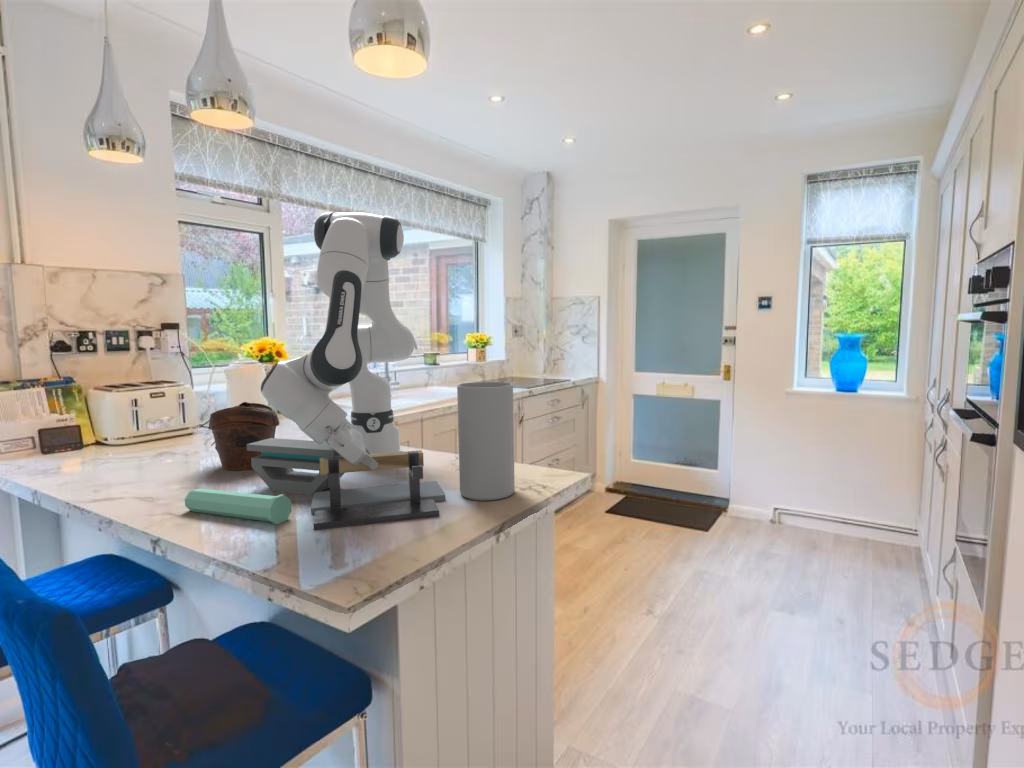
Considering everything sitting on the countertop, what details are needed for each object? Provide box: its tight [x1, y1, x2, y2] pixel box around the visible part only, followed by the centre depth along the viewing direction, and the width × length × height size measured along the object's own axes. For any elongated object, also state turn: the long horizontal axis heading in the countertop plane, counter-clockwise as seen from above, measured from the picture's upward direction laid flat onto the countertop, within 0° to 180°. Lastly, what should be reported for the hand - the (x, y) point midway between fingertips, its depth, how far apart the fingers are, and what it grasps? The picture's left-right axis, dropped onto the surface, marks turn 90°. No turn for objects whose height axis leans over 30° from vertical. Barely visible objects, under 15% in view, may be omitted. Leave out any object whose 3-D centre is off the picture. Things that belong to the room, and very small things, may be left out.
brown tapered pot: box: [208, 401, 280, 471], centre depth 160 cm, size 18×20×18 cm
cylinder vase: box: [456, 381, 516, 502], centre depth 128 cm, size 12×12×25 cm
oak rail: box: [320, 449, 425, 475], centre depth 125 cm, size 3×22×3 cm, turn 107°
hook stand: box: [313, 450, 440, 531], centre depth 114 cm, size 8×24×12 cm, turn 107°
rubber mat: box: [310, 480, 446, 515], centre depth 126 cm, size 12×28×1 cm, turn 107°
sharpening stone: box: [247, 437, 345, 496], centre depth 135 cm, size 25×8×11 cm, turn 70°
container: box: [184, 488, 292, 525], centre depth 116 cm, size 6×6×25 cm
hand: (375, 464), depth 125 cm, fingers closed on oak rail, 3 cm apart
